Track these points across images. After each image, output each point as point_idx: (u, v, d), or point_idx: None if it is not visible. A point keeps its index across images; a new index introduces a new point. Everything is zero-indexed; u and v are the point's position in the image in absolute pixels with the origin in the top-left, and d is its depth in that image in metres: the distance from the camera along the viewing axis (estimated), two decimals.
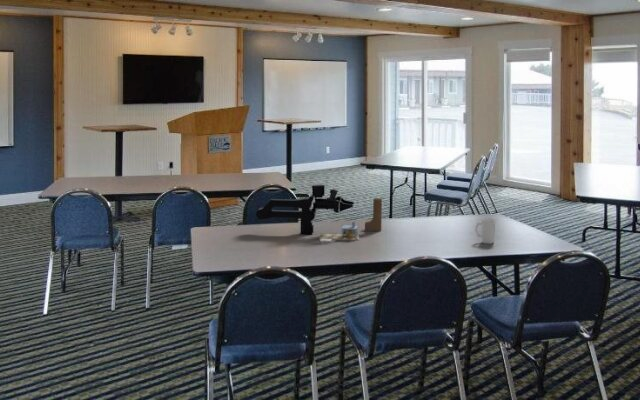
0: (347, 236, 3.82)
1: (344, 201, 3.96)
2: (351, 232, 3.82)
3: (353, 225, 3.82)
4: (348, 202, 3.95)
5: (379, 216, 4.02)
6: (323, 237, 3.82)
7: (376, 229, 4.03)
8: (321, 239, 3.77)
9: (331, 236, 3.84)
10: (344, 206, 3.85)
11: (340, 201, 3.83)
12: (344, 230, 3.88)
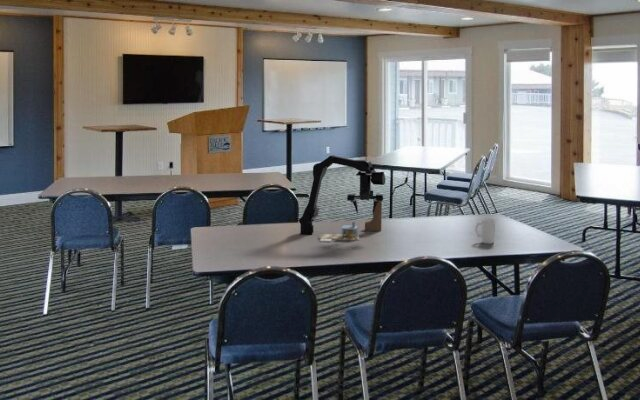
0: (347, 236, 3.82)
1: (373, 204, 3.80)
2: (351, 232, 3.82)
3: (353, 225, 3.82)
4: None
5: (379, 216, 4.02)
6: (323, 237, 3.82)
7: (376, 229, 4.03)
8: (321, 239, 3.77)
9: (331, 236, 3.84)
10: None
11: None
12: (344, 230, 3.88)
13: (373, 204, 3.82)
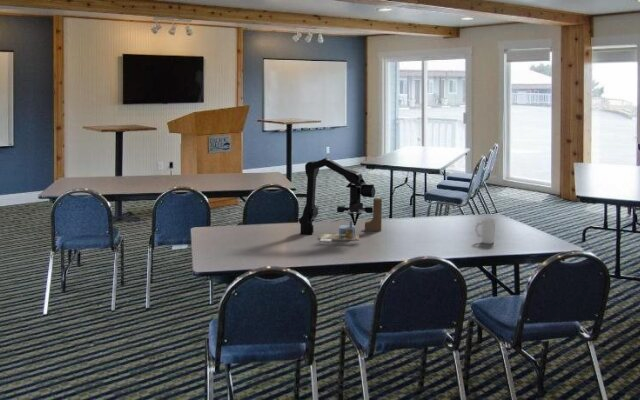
0: (347, 236, 3.82)
1: None
2: (351, 232, 3.82)
3: (350, 225, 3.82)
4: (355, 220, 3.83)
5: (379, 216, 4.02)
6: (323, 237, 3.82)
7: (376, 229, 4.03)
8: (321, 239, 3.77)
9: (331, 236, 3.84)
10: None
11: None
12: (341, 230, 3.88)
13: None
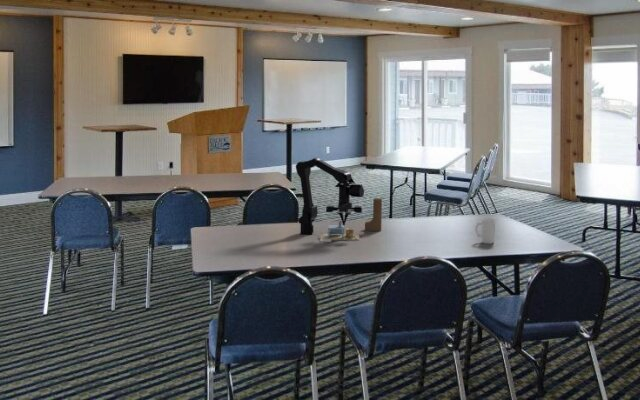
0: (347, 236, 3.82)
1: None
2: (351, 232, 3.82)
3: (339, 225, 3.82)
4: None
5: (379, 216, 4.02)
6: (323, 237, 3.82)
7: (376, 229, 4.03)
8: (321, 239, 3.77)
9: (331, 236, 3.84)
10: (341, 216, 3.83)
11: (337, 213, 3.80)
12: (331, 230, 3.88)
13: None
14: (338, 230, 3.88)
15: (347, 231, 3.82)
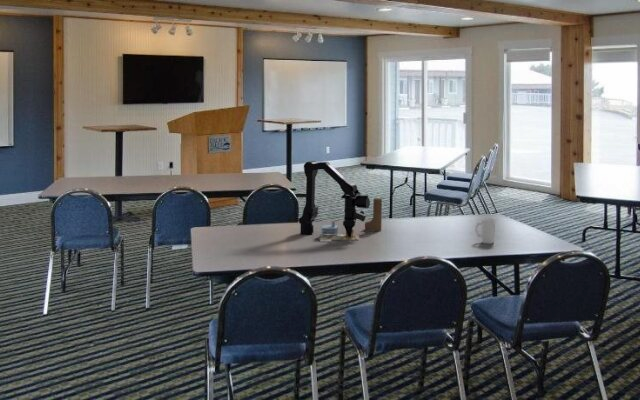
0: (347, 236, 3.82)
1: None
2: (351, 232, 3.82)
3: (333, 225, 3.83)
4: None
5: (379, 216, 4.02)
6: (323, 237, 3.82)
7: (376, 229, 4.03)
8: (321, 239, 3.77)
9: (331, 236, 3.84)
10: (349, 229, 3.80)
11: (354, 225, 3.78)
12: (324, 230, 3.89)
13: None
14: (331, 230, 3.88)
15: None
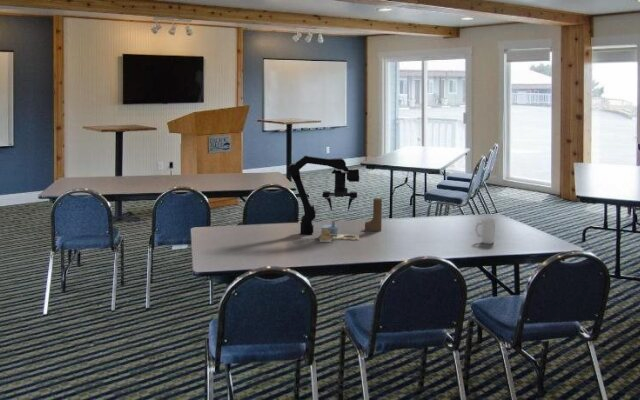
0: None
1: None
2: None
3: (333, 225, 3.83)
4: (348, 205, 3.93)
5: (379, 216, 4.02)
6: None
7: (376, 229, 4.03)
8: (321, 239, 3.77)
9: (331, 236, 3.84)
10: None
11: (325, 198, 3.91)
12: None
13: None
14: (331, 230, 3.88)
15: None
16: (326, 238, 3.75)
